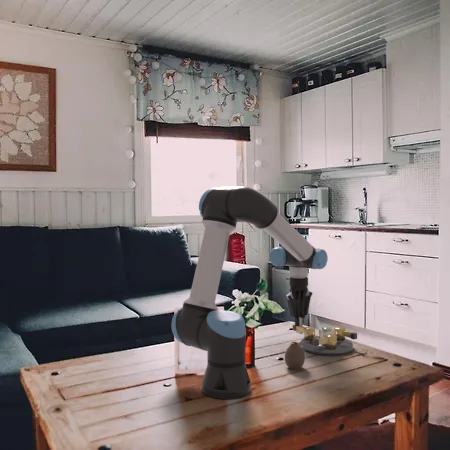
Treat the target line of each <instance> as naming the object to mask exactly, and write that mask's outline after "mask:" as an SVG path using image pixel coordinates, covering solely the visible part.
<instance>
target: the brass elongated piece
mask: <svg viewBox="0 0 450 450" xmlns="http://www.w3.org/2000/svg"><path fill="white" fill-rule="evenodd" d="M333 330H335V335H337V341H344V340H345V339H346V338H350V339H351V340H357V339H358V333H357V332H354V331H350V330H346V327H344V326H335V327H333Z"/></svg>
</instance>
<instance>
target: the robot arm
mask: <svg viewBox="0 0 450 450" xmlns="http://www.w3.org/2000/svg"><path fill="white" fill-rule="evenodd" d="M198 210H199V214H200V216H201V218H202V219H201V220H202V221H201V223H202V224H203V226H204V232H203V237H202V241H201V245H200V250H199V255H198V258H197V263H196V267H195V271H194V276H193V281H192V283H191V284H192V285H191V289H190V292H189V293H190V294H189V297H188V298H187V299H185V300H184V301H183V304H182V307H180V308H178V310H177V311H176V312H175V313H174V315H173V316H172V318H171V319H172V320H171V332H172V334H173V336H174V337H175V339H176V340H177V341H178V342H179V343H181V344H184V345H185V346H187V347H192V348H195V349H199V350H202V351H206V352H207V357H206V358H207V365H206V369H205V372H204V375H203V378H202V382H201V391H202V393H203V394H204V395H206V396H208V397H210V398H214V399H220V400H234V399H239V398H242V397H245V396H247V395H249V394H250V393H251V392H252V380H251V378H250V374H249V372H248V368H247V366H246V343H247V342H246V334H247V328H246V322H245V318H244V317H243V316H242V315H241V314H239V313H238V312H235V311H232V310H231V311H230V310H225V309H219V308H218V306H217V305H216V299H217V295H218V290H219V286H220V281H221V277H222V271H223V268H224V267H223V266H224V262H225V257H226V252H227V248H228V243H229V240H230V235H231V233H232V232H233V231H236V228H237V224H238V222H241V223H243V222H244V223H248V224H252V225H253V226H254V227H256V229H260V230H263V231H265V232H266V233H267V234H268V235H269V236H270V237H271V238H272V239H274V240H275V241H276V243H278V244H279V246H276V247H273V248H272V249H271V250H270V252H269V255H268V256H269V261H270V263H271V264H272V266H274V267H285V266H286V267H287V266H288V267H289V276H290V277H289V288H290V289H289V292H288V294H285V295H284V297H285V299H286V301H287V305H288V309H289V314H290V317H293V318H294V325H296V326H304V320H305V319H306V316H308V313H309V309H310V304H311V303H310V302H311V299H312V298H311V297H312V296H313V292H312V291H310V290H309V288H308V286H309V277H308V276H309V269H310V270H311V269H313V270H322V269H323V270H324V269H325V267H326V266H327V263H328V253H327V251H326V250H325V249H324V248H322V249H321V248H316V247H315V246H314V245H312V244H311V243H310V242H309V241H308V240H307V239H306V238H305V237H304V236H303V235H302V234H301V233H300V232H299V231H298V230H297V229H295V227H294V226H293V225H292V224H291V223H289V221H287V220H286V219H285V218H284V217H283V216H282V215H281V214H280V213H279V209H278V207H277V206H276V204H274V203H273V201H272V200H270V199H269V197H268V198H267V197H266V196H265V195H263V194H262V193H261V192H259V191H257V190H255V189H254V188H251V187H249V186H248V187H247V186H216V187H211V188H209V189H207V190H205V192H203V194H202V195H201V196H200V199H199V202H198ZM295 332H296V333H297V334H299V335H302V334H303V335H304V333H302V332H299V331H295Z"/></svg>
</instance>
